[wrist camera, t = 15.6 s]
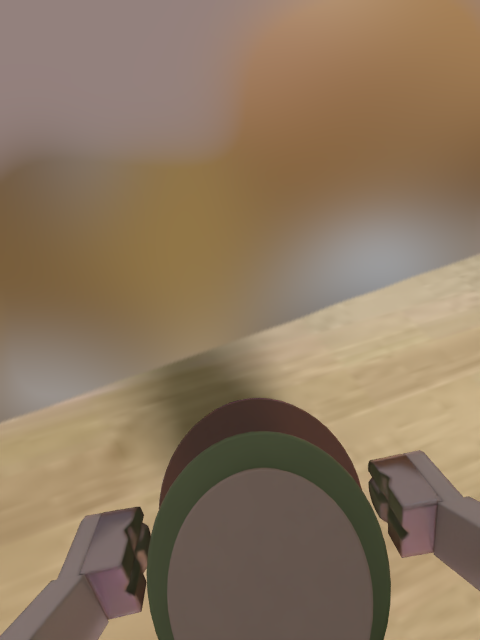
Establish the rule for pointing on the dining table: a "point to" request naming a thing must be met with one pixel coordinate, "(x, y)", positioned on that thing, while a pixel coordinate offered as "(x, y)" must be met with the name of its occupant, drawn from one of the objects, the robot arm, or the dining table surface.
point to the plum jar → (251, 419)
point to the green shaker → (267, 547)
